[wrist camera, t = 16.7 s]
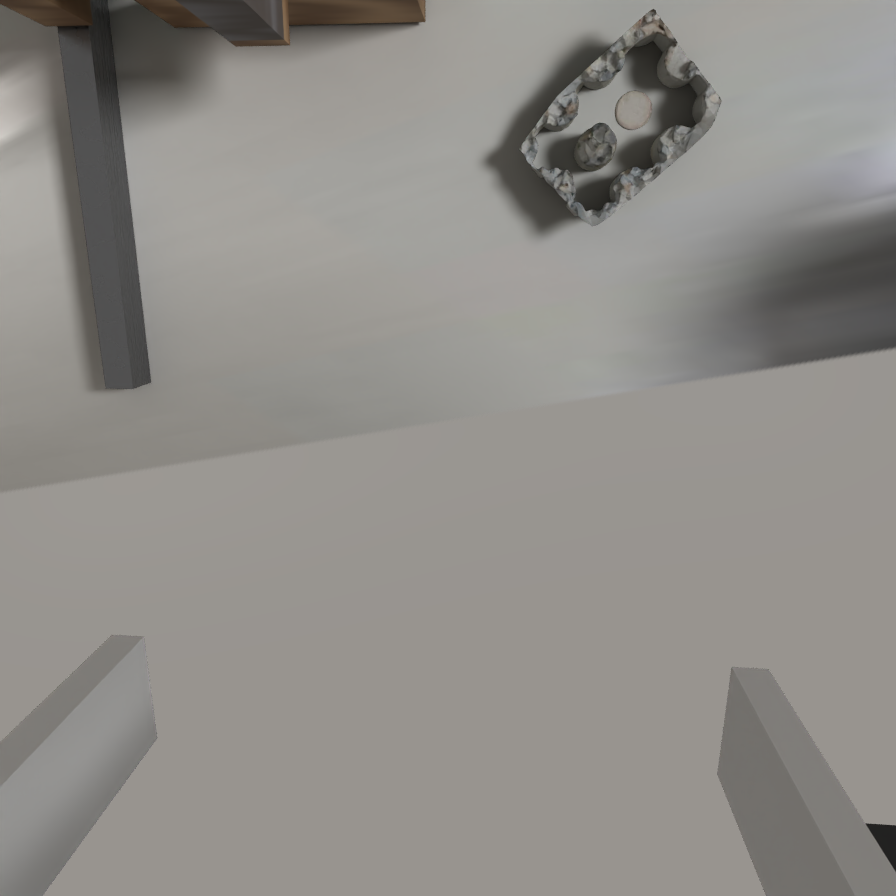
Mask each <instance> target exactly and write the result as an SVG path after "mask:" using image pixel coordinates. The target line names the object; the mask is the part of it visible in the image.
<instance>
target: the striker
mask: <svg viewBox="0 0 896 896" xmlns="http://www.w3.org/2000/svg"><path fill="white" fill-rule="evenodd" d="M135 1H136V2H138V3H139V4H141V5H142V6H144V7H145V8H147V9H148V10H150V11H151V12H153V13H154V14H156V15H157V16H158V17H160V18H161V19H163V20H164V21H166V22H167V23H169V24H170V25H172V26H173V27H175V28H181V27H211V28H212V29H214V30H215V31H216V32H218V33H219V34H220V35H222V36H223V37H224V38H226V39H227V40H228V41H229V42H231V43H232V44H233V45H235V46H279V45H290V34H289V25H312V24H355V23H398V22H425V0H135ZM0 4H2V5H4V6H6V7H8V8H10V9H12V10H14V11H16V12H18V13H20V14H22V15H24V16H26V17H28V18H30V19H32V20H34V21H36V22H38V23H40V24H42V25H44V26H84V25H93V22H92V14H91V6H90V0H0Z"/></svg>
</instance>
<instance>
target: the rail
mask: <svg viewBox="0 0 896 896" xmlns="http://www.w3.org/2000/svg"><path fill="white" fill-rule="evenodd" d="M90 6H91V14H92V22H93V25H84V26H58V33H59V41H60V48H61V56H62V63H63V71H64V78H65V86H66V93H67V101H68V108H69V116H70V123H71V131H72V138H73V146H74V153H75V161H76V168H77V176H78V183H79V191H80V198H81V206H82V213H83V221H84V228H85V236H86V243H87V251H88V258H89V266H90V274H91V281H92V289H93V296H94V304H95V311H96V319H97V326H98V334H99V341H100V349H101V356H102V364H103V371H104V379H105V386H106V388H116V389H134V388H137V387H140V386H142V385H145V384H148V383H151V379H150V370H149V362H148V353H147V344H146V336H145V327H144V318H143V309H142V301H141V292H140V283H139V274H138V266H137V257H136V248H135V240H134V231H133V222H132V213H131V205H130V196H129V187H128V179H127V170H126V161H125V152H124V144H123V135H122V126H121V118H120V109H119V100H118V91H117V83H116V74H115V65H114V57H113V48H112V39H111V30H110V22H109V13H108V4H107V0H90Z"/></svg>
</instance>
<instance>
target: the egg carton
mask: <svg viewBox="0 0 896 896" xmlns="http://www.w3.org/2000/svg"><path fill="white" fill-rule="evenodd" d="M652 41H654V42H655V43H656V45H657V46H658V47H659V48H660V50H661V51H662V53H663V54H662V56H661V58H660V60H659V62H658V65H657V75H658V78H659V80H660V81H661V82H662V83H663V84H664V85H665V86H667V87H669V88H679V87H682V86H684V85H686V84H687V83H689V84H690V85H691V86H692V88H693V89H694V90H695V92H696V93H697V99H696V100H695V102H694V105H693V109H692V114H693V118H694V120H695V123H696V125H695V126H694V127H693V128H689V127H685V126H682V125H675V126H673V127H670V128H668V129H666V130H665V131H664V132H663V133H661V134H660V135H659V136H658V137H657V138H656V139H655V141H654V143H653V144H652V146H651V159H652V162H653V165H654V166H653V168H647V169H645V170H644V169H639V168H638V167H632V168H630V169H628V170H626V171H624V172H622V173H620V174H619V175H618V177H617V178H616V179H615V180H614V181H613V182H612V184H611V186H610V190H609V195H610V200H611V202H612V203H606V204H605V205H604V206H603V209H602V210H600V211H598V210H587V211H585V209H584V207H583V206H582V205H581V203H579V202H574V197H575V194H576V190H575V187H574V182H573V176H572V174H571V173H570V172H569V171H568V170H567V169H566V170H560V169H559V168H554V169H551V170H549V171H547V170H546V169H545V168H544V167H541V168H540V169H536V168H535V167H534V165H533V161H534V159H535V157H536V154H537V150H538V143H537V140H536V138H535V137H536V135H537V134H538V132H539V131H540V130H541V129H542V128H543V127H545V128H547V129H549V130H550V131H562V130H563V129H565V128H567V127H568V126H569V125H570V124H571V123H572V121H573V120H574V118H575V117H576V115H577V111H578V107H579V100H578V96H577V94H578V92H579V90H580V89H581V88H582V86H583V85H584V86H586V87H587V88H590V89H601V88H604V87H606V86H607V85H609V84H610V83H611V81H612V80H613V79H614V77H615V75H616V74H617V73H618V72H619V71H621V69H622V67H623V64H624V61H625V54H626V53H627V52H628V51H629V50H630V49H631V48H632V47H633V46H637V47H639V46H644V45H646V44H648V43H650V42H652ZM720 104H721V99H720V97H719V95H718V94H717V93H716V91H715V90H714V88H713V87H712V86H711V84H709V83H708V81H707V80H706V79H705V78H704V76H703V75H702V74H701V72H700V71H699V69H698V68H697V66H696V65H695V64H694V62H692V61H691V60H689V58H688V57H687V55H686V54H685V53H684V51H683V50H682V49H681V48H680V46H679V45H678V44H677V41H676V39H675V38H674V36H673V34H672V33H671V31H670V30H669V29H668V28H667V26H666V25H665V24H664V23H663V21H662V20H661V19H660V17H659V16H658V14H657V13H656V10H654V9H653V10H651V11H649V12H648V13H647V14H646V15H645V16H643V17H642V18H641V19H640V20H639V21H638V22H637V23H636V24H635V25H633V26H632V27H631V28H630V29H629V30H628V31H627V32H626V33H625V34H624V35H623V36H622V37H620V38H619V39H618V40H617V41H616V42H615V43H614V44H613V45H612V46H611V47H610V48H609V49H608V50H607V51H606V52H604V53H603V54H602V55H601V56H600V57H599V58H598V59H597V60H596V61H595V62H593V63H592V64H591V65H590V66H589V67H588V68H587V69H586V70H585V71H584V72H583V73H582V74H581V75H580V76H579V77H577V78H576V79H575V80H574V81H573V82H572V83H571V84H570V85H568V86H567V87H566V88H565V89H564V90H563V91H562V92H561V93H560V94H559V95H558V96H557V97H556V99H555V100H554V101H553V103H552V104H551V105H550V106H549V108H548V109H547V110H546V112H545V113H544V114H543V116H542V117H541V119H540V120H539V121H538V123H537V124H536V126H535V127H534V128H533V130H532V131H531V132H530V133H529V135H528V136H527V137H526V140H525V141H524V142H523V144H522V146H521V147H520V148H519V150H520V151H521V152H522V153H523V154H524V156H525V157H526V160H527V161H528V163H529V164H530V165H531V168H532V169H533V170H534V172H535V173H536V174H537V175H538V176H539V177H541V178H542V177H544V178H545V180H546V181H547V183H548V184H549V185H550V186H551V187H553V188H554V189H555V190H556V192H557V193H558V194H559V195H560V196H561V197H562V198H563V199H564V200H565V201H566V202H567V203H566V207H567V208H568V209H569V211H570V212H571V213H572V214H573V215H574V216H579V217H580V218H581V219H582V220H584V221H585V222H587V223H588V224H590V225H591V226H596V225H598V224H599V223H601V222H602V221H604V220H605V219H607V218H608V217H609V216H611V215H612V214H613V213H615V212H616V211H617V210H618V209H620V208H621V207H622V206H623V205H624V204H625V203H627V202H628V201H629V200H630V199H631V198H633V197H634V196H635V195H636V194H637V193H639V192H640V191H641V190H642V189H643V188H644V187H645V186H646V185H648V184H649V183H650V182H652V181H653V180H654V179H655V178H656V177H657V176H658V175H659V174H660V173H662V172H663V171H664V170H665V169H666V168H668V167H669V166H670V165H671V164H672V163H673V162H674V161H676V160H677V159H678V158H679V157H680V156H682V155H683V154H684V153H685V152H686V151H688V150H689V149H690V148H691V147H692V146H693V145H694V144H695V143H696V142H697V141H698V140H699V139H700V138H701V137H702V136H703V135H704V134H705V133H706V132H707V131H708V130H709V129H710V128H711V126H712V124H713V122H714V121H715V118H716V115H717V112H718V109H719V107H720ZM651 113H652V103H651V100H650V99H649V97H648V96H647V95H646V94H645V93H643V92H639V91H630V92H627V93H626V94H624V95H623V96H622V97H621V98H620V100H618V103H617V105H616V109H615V116H616V120H617V122H618V124H619V125H621V126H622V127H623V128H625V129H629V130H634V129H638V128H640V127H642V126H643V125H645V124H646V123H647V122H648V120H649V118H650V116H651ZM616 142H617V140H616V136H615V134H614V133H613V131H612V130H611V129H610V128H609V126H608V125H606V124H604V123H597V124H595V125H594V126H593V127H592V128H590V129H588V130H587V131H585V132H584V133H583V134H582V135H581V137H580V138H579V140H578V142H577V144H576V147H575V150H574V156H575V159H576V160H575V161H576V162H577V164H578V165H579V166H580V167H581V168H583V169H585V170H588V171H596V170H599V169H601V168H602V167H604V166H605V165H606V164H607V163H608V162H609V161H610V160H611V159H612V157H613V155H614V152H615V149H616Z"/></svg>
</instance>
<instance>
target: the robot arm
mask: <svg viewBox="0 0 896 896" xmlns="http://www.w3.org/2000/svg"><path fill="white" fill-rule="evenodd" d="M156 739H157V733H156V725H155V717H154V710H153V703H152V695H151V687H150V680H149V672H148V665H147V656H146V649H145V641H144V637H141V636H122V635H112V636H110V638H108V639H107V640H106V641H105V642H104V643H103V644H102V645H101V646H100V647H99V648H98V649H97V650H96V651H95V652H94V653H93V654H92V655H91V656H90V657H89V658H87V660H85V661H84V662H83V663H82V664H81V665H80V666H79V667H78V668H77V669H76V670H75V671H74V672H73V673H72V674H71V675H70V676H69V677H68V678H67V679H66V680H65V681H64V682H62V684H60V685H59V686H58V687H57V688H56V689H55V690H54V691H53V692H52V693H51V694H50V695H49V696H48V697H47V698H46V699H45V700H44V701H43V702H42V703H41V704H39V706H37V708H35V709H34V710H33V711H32V712H31V713H30V714H29V715H28V716H27V717H26V718H25V719H24V720H23V721H22V722H21V723H20V724H19V725H18V726H17V727H16V728H14V729H13V730H12V731H11V732H10V733H9V734H8V735H7V736H6V737H5V738H4V739H3V740H2V741H1V742H0V896H43V894H44V893H45V892H46V890H47V889H48V887H49V886H50V885H51V883H52V882H53V881H54V879H55V878H56V876H57V875H58V874H59V872H60V871H61V870H62V868H63V867H64V866H65V864H66V863H67V861H68V860H69V859H70V857H71V856H72V854H73V853H74V852H75V850H76V849H77V848H78V846H79V845H80V843H81V842H82V841H83V839H84V838H85V836H86V835H87V834H88V833H89V831H90V830H91V828H92V827H93V826H94V824H95V823H96V822H97V820H98V819H99V817H100V816H101V815H102V813H103V812H104V811H105V809H106V808H107V806H108V805H109V804H110V802H111V801H112V800H113V798H114V797H115V795H116V794H117V793H118V791H119V790H120V789H121V787H122V786H123V784H124V783H125V782H126V780H127V779H128V778H129V776H130V775H131V773H132V772H133V771H134V769H135V768H136V767H137V765H138V764H139V762H140V761H141V760H142V758H143V757H144V756H145V754H146V753H147V752H148V750H149V748H150V747H151V746H152V745H153V743H154V742H155V741H156ZM717 775H718V777H719V780H720V782H721V785H722V787H723V790H724V792H725V795H726V797H727V800H728V802H729V805H730V807H731V810H732V812H733V814H734V817H735V820H736V822H737V825H738V827H739V830H740V832H741V835H742V837H743V840H744V842H745V845H746V847H747V850H748V852H749V855H750V857H751V860H752V862H753V865H754V867H755V869H756V872H757V875H758V877H759V880H760V882H761V885H762V887H763V890H764V892H765V894H766V896H896V826H895V825H880V824H866V823H865V822H864V821H863V819H862V818H861V816H860V814H859V813H858V811H857V809H856V808H855V806H854V805H853V803H852V802H851V800H850V798H849V797H848V795H847V794H846V792H845V790H844V789H843V787H842V786H841V784H840V782H839V781H838V779H837V778H836V776H835V774H834V773H833V771H832V770H831V768H830V767H829V765H828V763H827V762H826V760H825V758H824V757H823V755H822V754H821V752H820V751H819V749H818V748H817V746H816V744H815V742H814V741H813V739H812V738H811V736H810V735H809V733H808V731H807V730H806V728H805V727H804V725H803V723H802V722H801V720H800V719H799V717H798V715H797V714H796V712H795V711H794V709H793V707H792V706H791V704H790V703H789V701H788V699H787V698H786V696H785V695H784V693H783V691H782V690H781V688H780V687H779V685H778V683H777V682H776V680H775V679H774V677H773V675H772V674H771V672H770V671H769V669H758V668H738V667H732V668H731V675H730V683H729V690H728V698H727V705H726V713H725V720H724V727H723V735H722V742H721V750H720V757H719V765H718V772H717Z"/></svg>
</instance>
